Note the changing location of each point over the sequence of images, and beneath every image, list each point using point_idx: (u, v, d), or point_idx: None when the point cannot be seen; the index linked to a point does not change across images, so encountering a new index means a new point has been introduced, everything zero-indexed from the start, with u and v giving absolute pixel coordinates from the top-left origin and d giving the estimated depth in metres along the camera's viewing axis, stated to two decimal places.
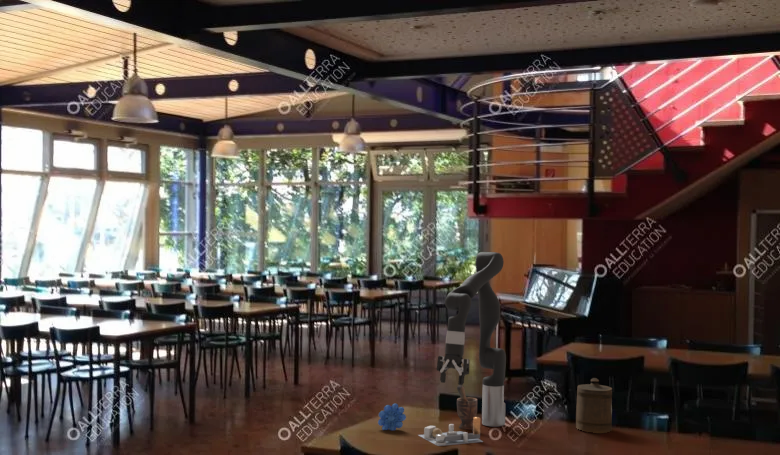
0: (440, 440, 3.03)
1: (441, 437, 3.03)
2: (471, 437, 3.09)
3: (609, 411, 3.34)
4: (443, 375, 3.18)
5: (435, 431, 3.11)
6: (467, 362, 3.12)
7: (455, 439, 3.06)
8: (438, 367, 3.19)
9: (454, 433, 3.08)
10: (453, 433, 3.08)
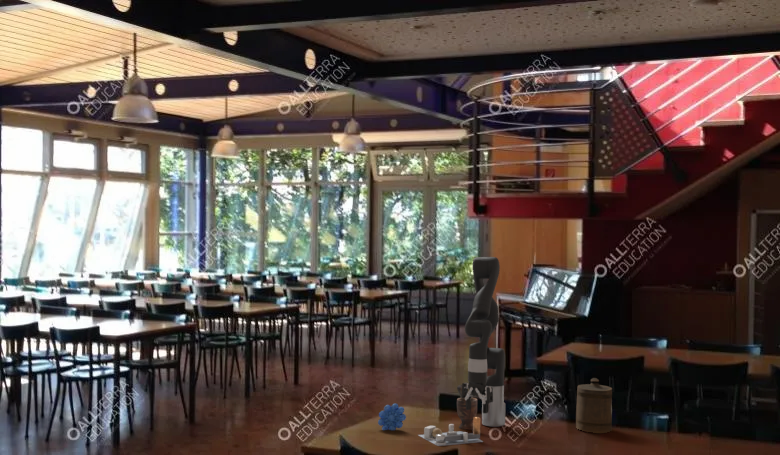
0: (440, 440, 3.03)
1: (441, 437, 3.03)
2: (471, 437, 3.09)
3: (609, 411, 3.34)
4: (468, 402, 3.14)
5: (435, 431, 3.11)
6: (490, 390, 3.06)
7: (455, 439, 3.06)
8: (463, 394, 3.15)
9: (454, 433, 3.08)
10: (453, 433, 3.08)
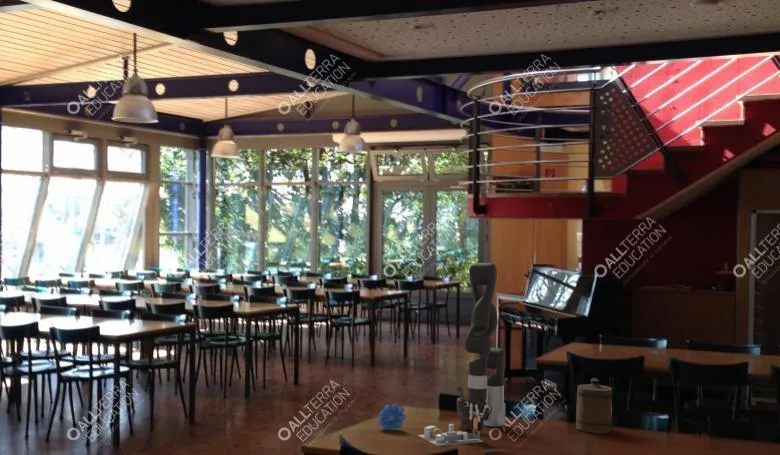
0: (440, 440, 3.03)
1: (441, 437, 3.03)
2: (471, 437, 3.09)
3: (609, 411, 3.34)
4: None
5: (435, 431, 3.11)
6: (488, 411, 3.07)
7: (455, 439, 3.06)
8: (467, 414, 3.13)
9: (454, 433, 3.08)
10: (453, 433, 3.08)
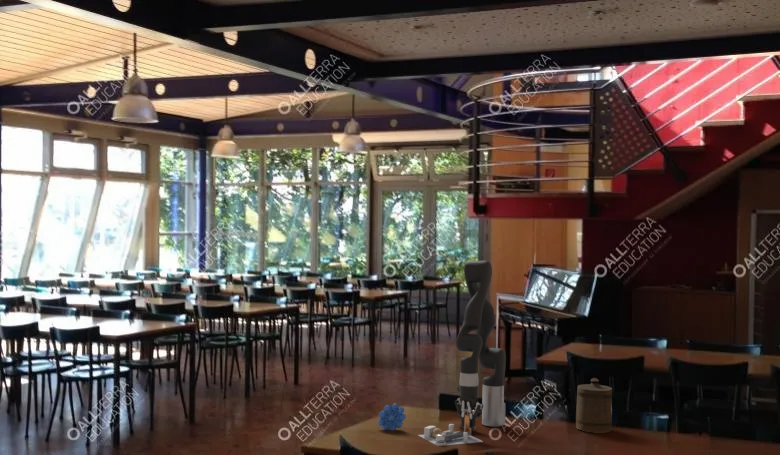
0: (442, 440, 3.03)
1: (442, 437, 3.03)
2: None
3: (609, 411, 3.34)
4: None
5: (435, 431, 3.11)
6: (480, 408, 3.12)
7: (452, 438, 3.08)
8: (459, 411, 3.18)
9: (450, 432, 3.10)
10: (449, 432, 3.10)
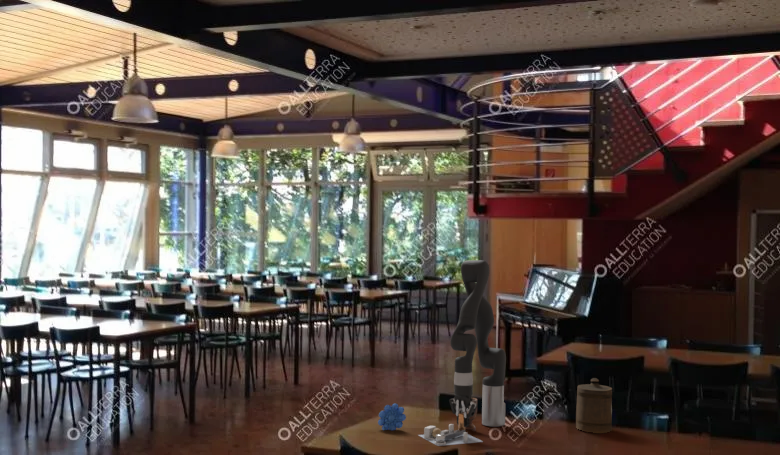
0: (442, 440, 3.03)
1: (443, 437, 3.03)
2: (460, 433, 3.15)
3: (609, 411, 3.34)
4: None
5: (435, 431, 3.11)
6: (474, 407, 3.14)
7: (450, 437, 3.09)
8: (454, 410, 3.20)
9: (447, 431, 3.11)
10: (446, 432, 3.10)
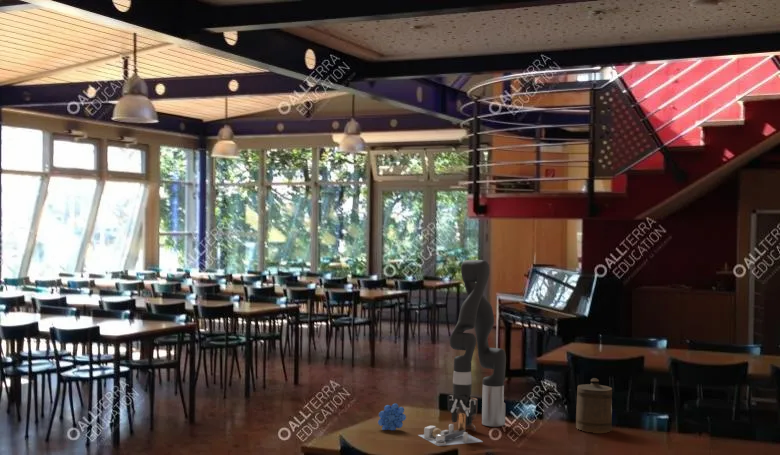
0: (442, 440, 3.03)
1: (443, 437, 3.03)
2: (460, 433, 3.15)
3: (609, 411, 3.34)
4: (454, 415, 3.20)
5: (435, 431, 3.11)
6: (474, 403, 3.13)
7: (450, 437, 3.09)
8: (449, 407, 3.21)
9: (447, 431, 3.11)
10: (446, 432, 3.10)
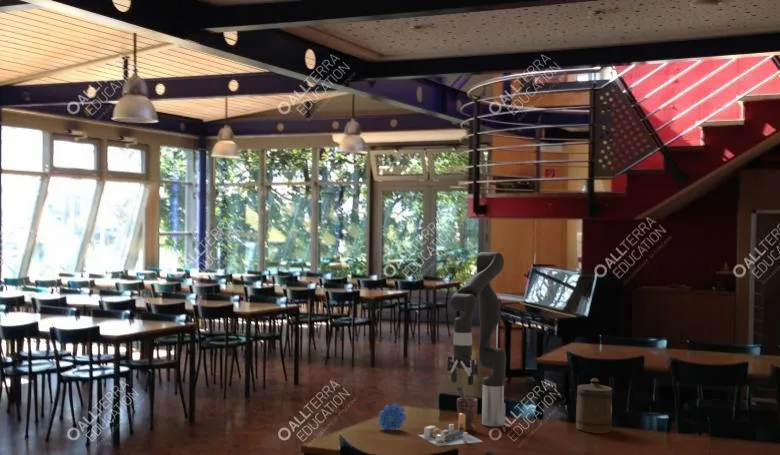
0: (442, 440, 3.03)
1: (443, 437, 3.03)
2: (460, 433, 3.15)
3: (609, 411, 3.34)
4: (454, 375, 3.21)
5: (435, 431, 3.11)
6: (475, 363, 3.13)
7: (450, 437, 3.09)
8: (448, 367, 3.22)
9: (447, 431, 3.11)
10: (446, 432, 3.10)
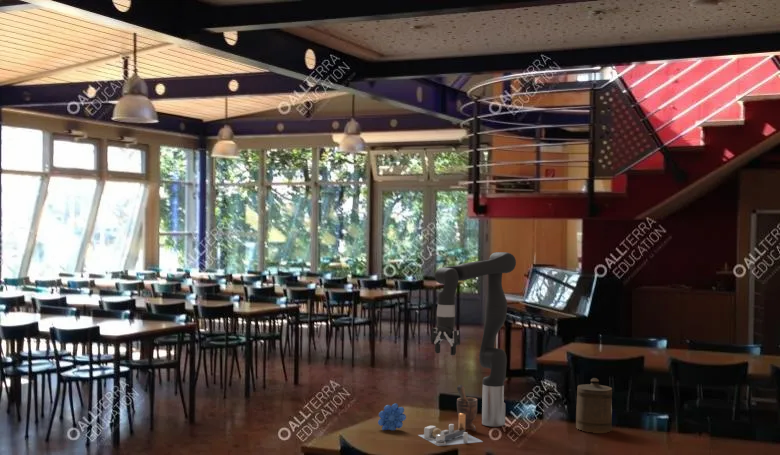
0: (442, 440, 3.03)
1: (443, 437, 3.03)
2: (460, 433, 3.15)
3: (609, 411, 3.34)
4: (437, 346, 3.33)
5: (435, 431, 3.11)
6: (457, 333, 3.26)
7: (450, 437, 3.09)
8: (432, 339, 3.35)
9: (447, 431, 3.11)
10: (446, 432, 3.10)
